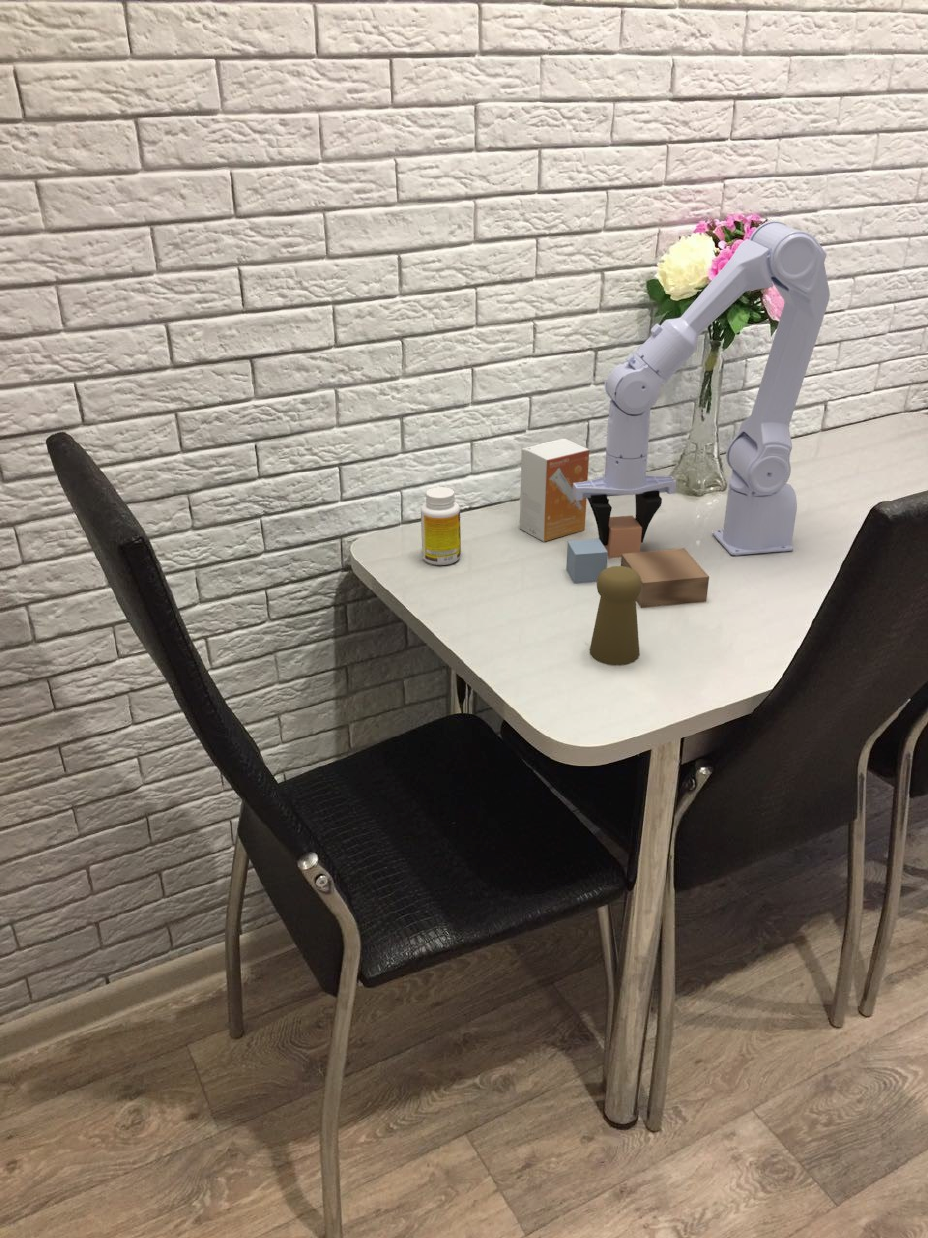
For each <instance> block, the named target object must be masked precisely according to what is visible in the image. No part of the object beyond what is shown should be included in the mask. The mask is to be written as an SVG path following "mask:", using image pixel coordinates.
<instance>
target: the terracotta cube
mask: <svg viewBox="0 0 928 1238" xmlns="http://www.w3.org/2000/svg"><path fill="white" fill-rule="evenodd" d="M641 534H642V527H641V526H640V524H639V523H638V522H637V521H636V519H635V516H633V515H622V516H610V519H609V527H608V545H606V546H604V547H605V549H606V550H607V552H608V559H618V558H619V559H621V554H625V553H636V552H641V547H642V546H641V544H642V543H641Z"/></svg>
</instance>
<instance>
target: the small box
mask: <svg viewBox="0 0 928 1238" xmlns="http://www.w3.org/2000/svg"><path fill="white" fill-rule="evenodd" d="M520 451H521V453H520V454H521V459H520V460H521V463H520V501H519V502H520V504H519V507H520V509H519V510H520V511H519V513H520V514H519V529H520V530H522V531H523V532H526V533H527V534H529V535H531V536H532V537H534V538H536V539H538V540H539V541H541V542H548V541H552V540H553V539H557V538H561V537H564V536H567V535H571V534H575V533H578V532H583V531H585V530H586V514H587V513H586V512H587V501H588V499H587V498H583V500H577V501H576V500H575V498H574V497H573V483H579V482H585V481H589V480H588V478H589V462H590V461H589V460H590V449H589V448H587V447H585V446H582V445H580V444H578V443H576V442H573V441H571V440H569V439H566V438H559V439H555V440H553V441H547V442H542V443H538V444H535V445H530V446H527V447H522V448H521V450H520Z"/></svg>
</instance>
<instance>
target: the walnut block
mask: <svg viewBox="0 0 928 1238" xmlns="http://www.w3.org/2000/svg"><path fill="white" fill-rule="evenodd" d="M620 566H624V567H628V568H631V569H633V570H635V571H636V572H637V573H638V574H639V576H640V578H641V583H642V587H641V591H640V594H639V595H638V597H637V598H636V604H637V605H639V607H640V608H641V609H645V608H646V609H647V608H654V607H665V606H675V605H676V606H677V605H685V604H686V605H687V604H695V603H696V604H697V603H706V602H707V600H708V592H709V591H708V590H709V581H710V576H709V575H708V574H707V572H706V571H705V570H704V569H703V567H701V565H699V563H698V562H697V561H696V560H695V559H694V558H693V556H692V555H691V554H690V553H689V551H688V550H687V549H686V548H684V547H683V548H682V547H681V548H671V549H659V550H648V551H640V552H636V553H625V554H621V557H620Z"/></svg>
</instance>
